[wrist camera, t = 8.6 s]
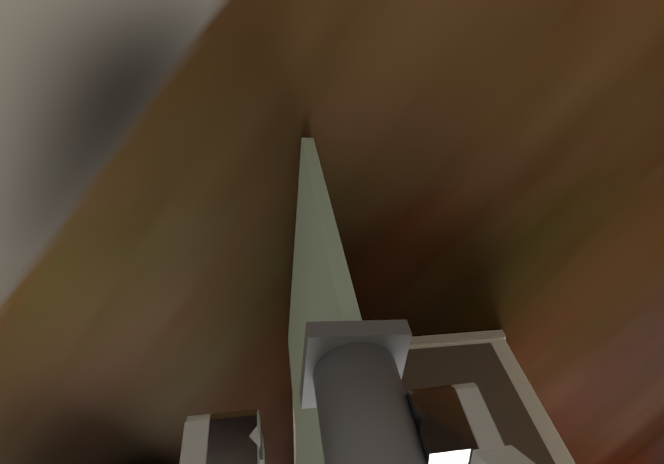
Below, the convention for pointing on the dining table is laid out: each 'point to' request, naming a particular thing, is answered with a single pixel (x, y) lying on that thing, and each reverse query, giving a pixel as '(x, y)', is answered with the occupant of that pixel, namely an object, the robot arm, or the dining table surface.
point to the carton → (485, 388)
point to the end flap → (341, 348)
